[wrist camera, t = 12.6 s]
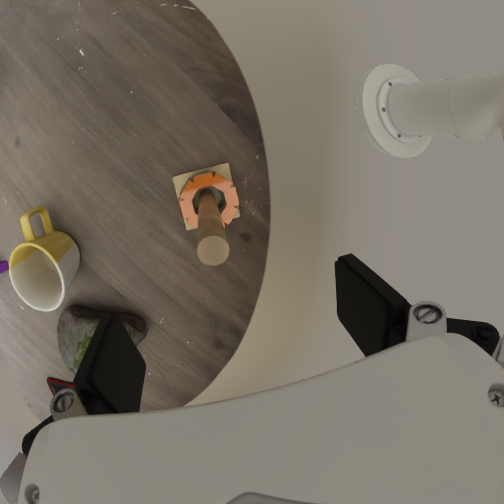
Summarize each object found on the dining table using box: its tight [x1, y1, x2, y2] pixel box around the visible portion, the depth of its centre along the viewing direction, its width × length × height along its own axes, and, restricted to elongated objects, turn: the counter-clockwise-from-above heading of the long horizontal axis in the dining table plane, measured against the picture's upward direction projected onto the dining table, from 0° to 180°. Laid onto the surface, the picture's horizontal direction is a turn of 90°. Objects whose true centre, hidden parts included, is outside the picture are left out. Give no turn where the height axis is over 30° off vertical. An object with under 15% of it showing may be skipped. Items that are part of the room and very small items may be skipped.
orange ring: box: [179, 171, 240, 229], centre depth 34 cm, size 7×7×2 cm
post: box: [172, 163, 240, 266], centre depth 28 cm, size 8×8×22 cm
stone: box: [57, 306, 148, 374], centre depth 39 cm, size 19×14×10 cm
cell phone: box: [47, 378, 76, 396], centre depth 47 cm, size 8×15×1 cm, turn 80°
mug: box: [9, 206, 80, 311], centre depth 31 cm, size 14×10×10 cm
